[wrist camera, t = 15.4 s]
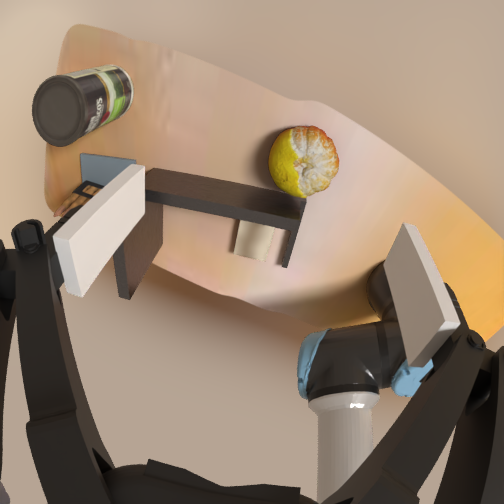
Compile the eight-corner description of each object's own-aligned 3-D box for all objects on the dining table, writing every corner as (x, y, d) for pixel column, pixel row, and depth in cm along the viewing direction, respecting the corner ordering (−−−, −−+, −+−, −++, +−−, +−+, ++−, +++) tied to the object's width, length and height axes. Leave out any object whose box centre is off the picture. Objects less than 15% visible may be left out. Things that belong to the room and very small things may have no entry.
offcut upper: (278, 212, 54) (278, 215, 53) (265, 257, 60) (265, 261, 59) (244, 204, 54) (243, 207, 53) (234, 250, 60) (233, 254, 59)
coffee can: (145, 81, 43) (96, 96, 32) (117, 130, 49) (70, 160, 37) (100, 54, 40) (45, 64, 29) (76, 103, 46) (24, 125, 35)
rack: (306, 197, 52) (307, 255, 39) (284, 271, 62) (278, 335, 49) (153, 167, 52) (108, 212, 39) (153, 242, 62) (119, 296, 49)
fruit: (328, 197, 51) (316, 217, 45) (271, 173, 53) (251, 189, 47) (352, 136, 44) (343, 147, 38) (289, 112, 46) (270, 119, 40)
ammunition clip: (85, 188, 56) (49, 219, 46) (85, 179, 54) (49, 210, 45) (131, 203, 56) (100, 239, 47) (132, 195, 55) (100, 230, 46)
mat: (136, 159, 52) (134, 161, 51) (137, 226, 60) (135, 227, 60) (81, 153, 52) (80, 154, 51) (87, 215, 60) (86, 217, 60)
